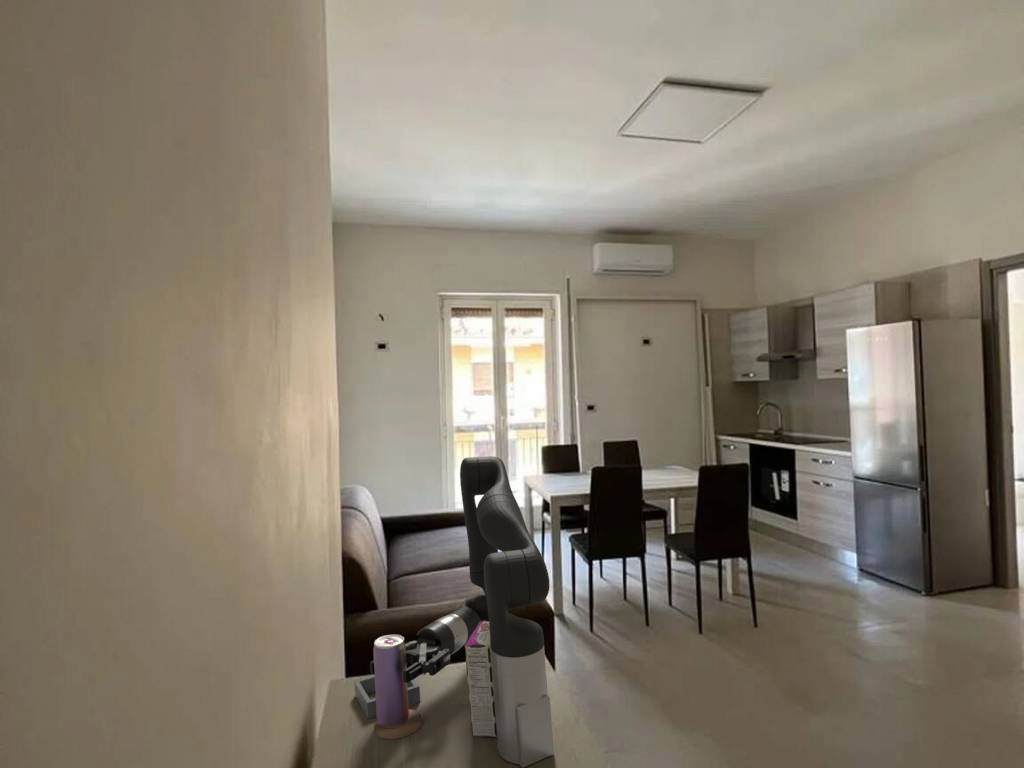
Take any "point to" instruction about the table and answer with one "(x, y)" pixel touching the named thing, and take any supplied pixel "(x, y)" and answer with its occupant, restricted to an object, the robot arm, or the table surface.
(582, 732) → the table surface
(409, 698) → the square frame
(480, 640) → the candy bar box
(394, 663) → the beverage can
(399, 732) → the coaster
